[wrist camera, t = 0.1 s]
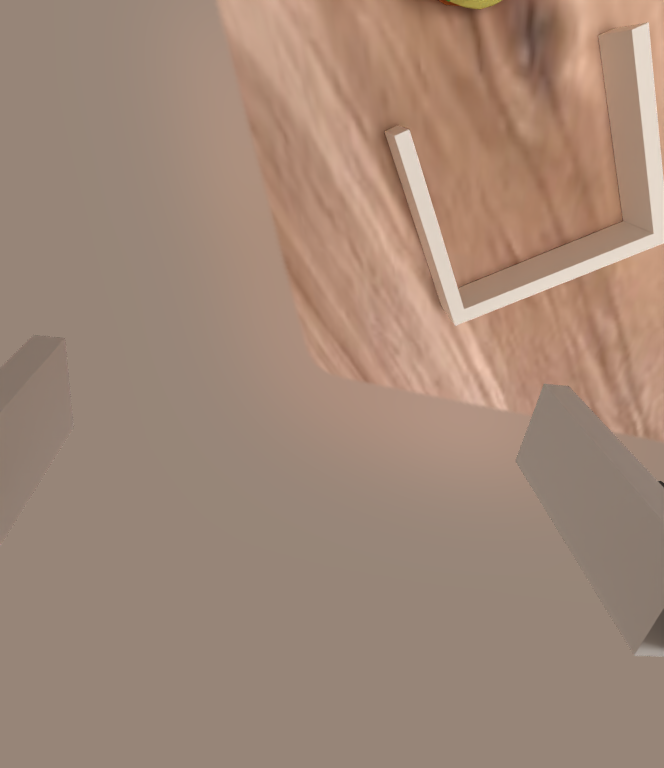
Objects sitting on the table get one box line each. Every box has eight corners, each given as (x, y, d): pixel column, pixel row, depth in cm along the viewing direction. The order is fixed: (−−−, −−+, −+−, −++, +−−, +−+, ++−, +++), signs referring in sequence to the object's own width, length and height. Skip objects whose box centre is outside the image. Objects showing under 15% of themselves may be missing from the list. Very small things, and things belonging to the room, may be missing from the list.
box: (384, 131, 38) (394, 135, 34) (612, 28, 36) (648, 22, 32) (441, 306, 44) (455, 325, 41) (637, 228, 42) (669, 240, 39)
